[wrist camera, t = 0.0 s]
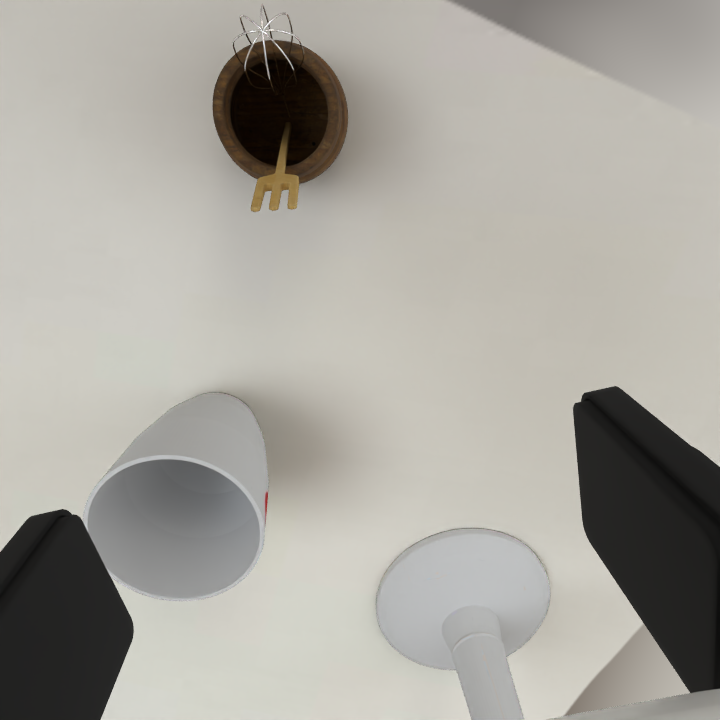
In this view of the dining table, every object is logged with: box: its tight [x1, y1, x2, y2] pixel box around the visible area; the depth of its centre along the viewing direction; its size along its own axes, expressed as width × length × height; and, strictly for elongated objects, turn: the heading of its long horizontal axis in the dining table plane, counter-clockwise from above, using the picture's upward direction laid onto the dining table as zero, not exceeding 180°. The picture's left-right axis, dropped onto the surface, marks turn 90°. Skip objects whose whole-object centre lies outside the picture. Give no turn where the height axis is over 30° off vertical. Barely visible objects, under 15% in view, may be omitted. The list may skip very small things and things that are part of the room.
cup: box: [83, 392, 269, 601], centre depth 29 cm, size 8×8×10 cm
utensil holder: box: [213, 4, 348, 212], centre depth 22 cm, size 6×6×12 cm
